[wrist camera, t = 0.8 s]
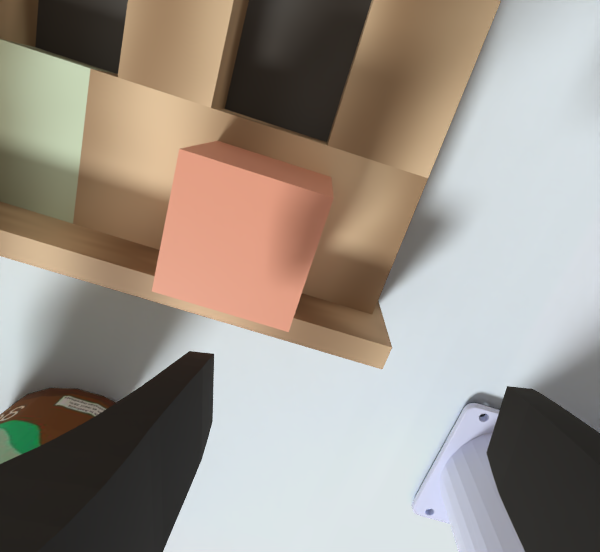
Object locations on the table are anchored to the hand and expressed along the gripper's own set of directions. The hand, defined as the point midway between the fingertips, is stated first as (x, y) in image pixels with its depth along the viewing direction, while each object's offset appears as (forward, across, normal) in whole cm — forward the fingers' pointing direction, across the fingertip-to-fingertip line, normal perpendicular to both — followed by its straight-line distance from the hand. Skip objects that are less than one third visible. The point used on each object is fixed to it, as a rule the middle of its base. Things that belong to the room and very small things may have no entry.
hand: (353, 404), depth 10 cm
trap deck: (+10, +7, -7) cm, 14 cm away
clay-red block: (+8, +4, -3) cm, 9 cm away
